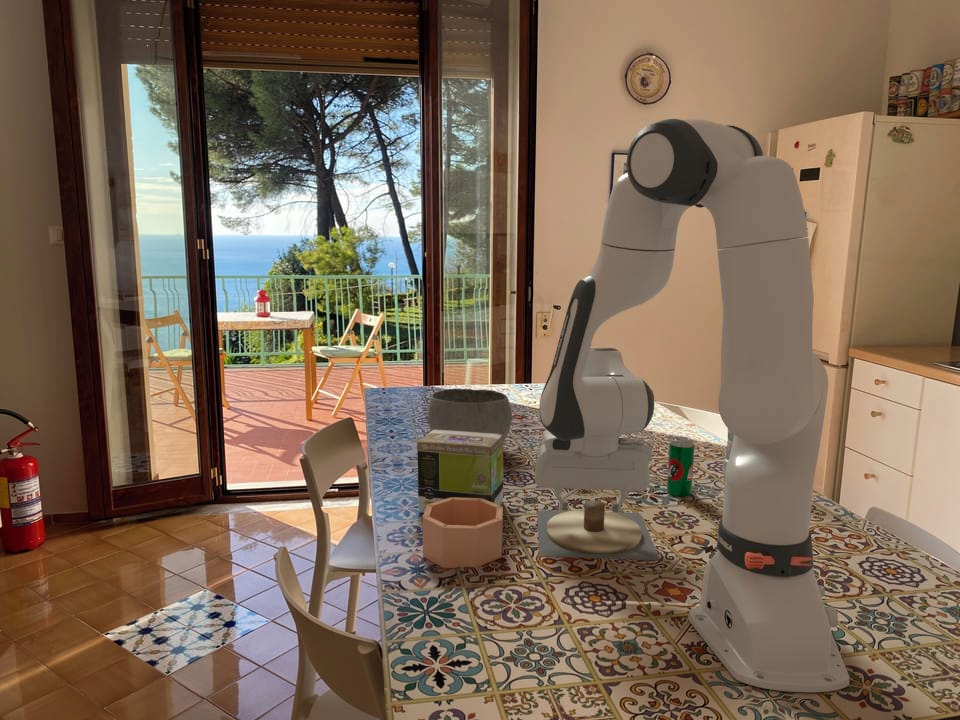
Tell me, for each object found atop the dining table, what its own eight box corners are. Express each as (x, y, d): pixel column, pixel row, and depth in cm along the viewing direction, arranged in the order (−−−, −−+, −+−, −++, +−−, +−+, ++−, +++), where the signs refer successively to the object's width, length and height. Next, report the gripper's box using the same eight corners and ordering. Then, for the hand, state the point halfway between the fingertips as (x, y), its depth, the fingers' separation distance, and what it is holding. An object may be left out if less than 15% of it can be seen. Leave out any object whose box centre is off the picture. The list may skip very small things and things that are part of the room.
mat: (659, 562, 118) (660, 560, 117) (539, 558, 119) (539, 556, 119) (640, 515, 137) (640, 513, 137) (537, 512, 138) (537, 510, 138)
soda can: (692, 499, 145) (696, 443, 143) (667, 497, 146) (670, 442, 144) (690, 491, 150) (693, 436, 148) (665, 489, 151) (668, 435, 149)
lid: (649, 555, 119) (651, 524, 118) (548, 552, 120) (549, 522, 119) (633, 515, 136) (634, 488, 135) (544, 513, 137) (545, 486, 136)
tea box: (503, 503, 143) (504, 432, 140) (491, 522, 133) (492, 447, 131) (433, 495, 147) (433, 426, 144) (416, 513, 137) (415, 440, 135)
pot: (500, 569, 114) (501, 529, 113) (419, 567, 115) (419, 526, 114) (502, 535, 127) (503, 498, 126) (430, 533, 128) (429, 496, 127)
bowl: (524, 460, 170) (525, 399, 167) (443, 470, 162) (443, 406, 160) (491, 437, 189) (492, 382, 186) (418, 445, 181) (417, 388, 179)
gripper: (649, 433, 127) (644, 506, 130) (535, 430, 128) (532, 502, 131) (656, 444, 121) (651, 520, 124) (537, 440, 122) (534, 515, 124)
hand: (589, 510), depth 127 cm, fingers open, 8 cm apart
